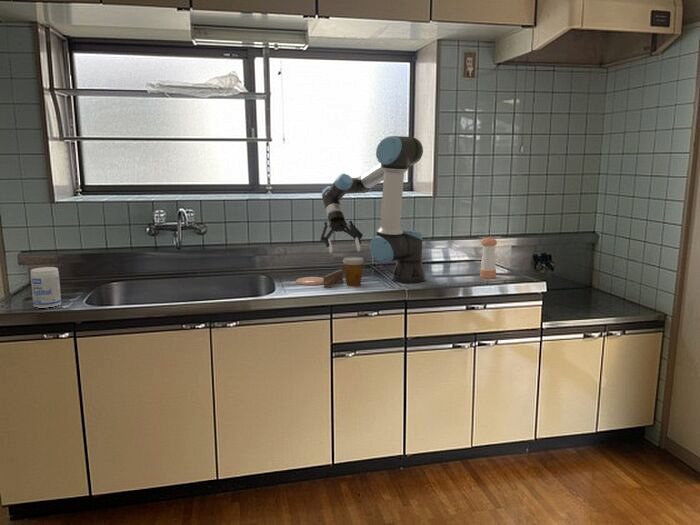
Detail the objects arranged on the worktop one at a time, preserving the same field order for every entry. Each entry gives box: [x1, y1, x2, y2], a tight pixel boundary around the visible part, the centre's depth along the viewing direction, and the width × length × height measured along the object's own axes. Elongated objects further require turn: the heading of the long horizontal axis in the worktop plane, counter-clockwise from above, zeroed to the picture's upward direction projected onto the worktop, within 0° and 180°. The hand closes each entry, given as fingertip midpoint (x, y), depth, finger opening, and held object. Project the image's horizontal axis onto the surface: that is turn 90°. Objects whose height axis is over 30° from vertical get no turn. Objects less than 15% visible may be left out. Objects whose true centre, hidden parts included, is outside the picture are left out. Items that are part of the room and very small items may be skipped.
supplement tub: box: [30, 266, 62, 309], centre depth 213 cm, size 10×10×15 cm
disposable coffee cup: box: [342, 256, 365, 287], centre depth 245 cm, size 10×10×12 cm
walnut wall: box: [323, 269, 344, 289], centre depth 248 cm, size 2×16×5 cm, turn 155°
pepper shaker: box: [479, 236, 498, 279], centre depth 259 cm, size 7×7×19 cm
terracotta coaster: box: [295, 276, 324, 286], centre depth 253 cm, size 15×15×1 cm
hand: (345, 251), depth 253 cm, fingers open, 13 cm apart
